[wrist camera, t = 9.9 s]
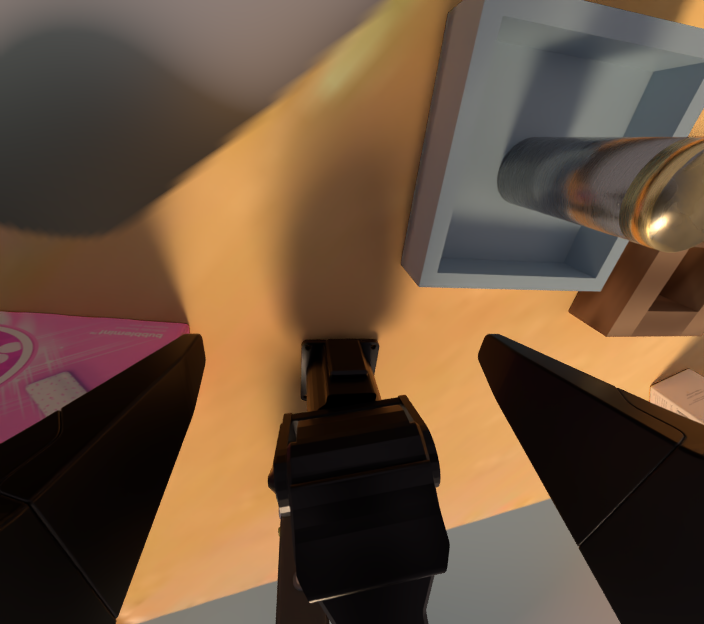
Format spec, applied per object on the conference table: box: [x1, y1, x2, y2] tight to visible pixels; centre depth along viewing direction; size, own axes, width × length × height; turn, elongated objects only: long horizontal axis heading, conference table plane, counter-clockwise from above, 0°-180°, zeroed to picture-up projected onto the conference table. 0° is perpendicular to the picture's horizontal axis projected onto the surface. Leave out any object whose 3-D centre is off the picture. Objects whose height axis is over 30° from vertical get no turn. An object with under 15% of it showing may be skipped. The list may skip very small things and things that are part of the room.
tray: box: [401, 0, 704, 292], centre depth 19 cm, size 14×14×4 cm
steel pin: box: [497, 137, 704, 253], centre depth 15 cm, size 4×4×10 cm
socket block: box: [569, 241, 704, 337], centre depth 24 cm, size 10×10×4 cm
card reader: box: [276, 510, 329, 624], centre depth 28 cm, size 9×4×15 cm, turn 178°
